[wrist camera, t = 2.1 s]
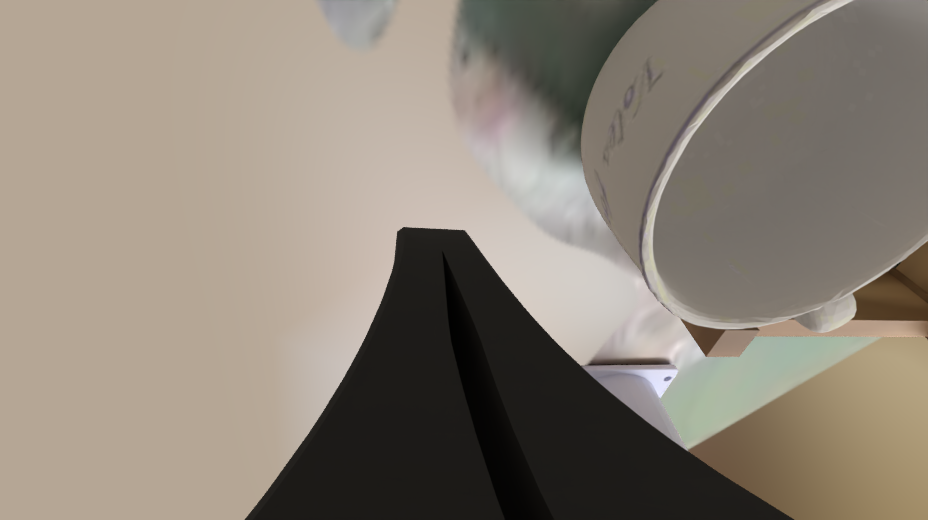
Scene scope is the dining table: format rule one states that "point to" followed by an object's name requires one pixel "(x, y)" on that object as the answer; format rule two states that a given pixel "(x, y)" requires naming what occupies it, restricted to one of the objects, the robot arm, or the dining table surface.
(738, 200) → the teacup
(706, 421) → the dining table surface
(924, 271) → the wooden frame
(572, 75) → the dining table surface
